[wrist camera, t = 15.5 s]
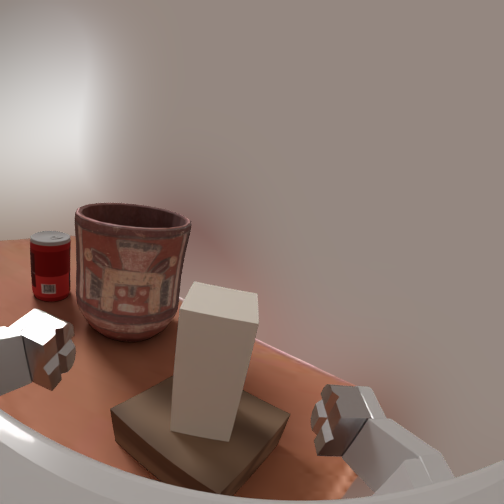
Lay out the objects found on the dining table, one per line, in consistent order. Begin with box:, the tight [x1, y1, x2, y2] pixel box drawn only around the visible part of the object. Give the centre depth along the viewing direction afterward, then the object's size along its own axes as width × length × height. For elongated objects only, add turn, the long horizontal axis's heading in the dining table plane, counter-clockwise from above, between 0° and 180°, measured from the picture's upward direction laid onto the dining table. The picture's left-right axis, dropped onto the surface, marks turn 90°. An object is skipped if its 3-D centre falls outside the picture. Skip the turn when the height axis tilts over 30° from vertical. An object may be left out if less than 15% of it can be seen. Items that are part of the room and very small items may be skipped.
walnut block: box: [110, 375, 290, 496], centre depth 24 cm, size 12×12×5 cm
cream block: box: [170, 282, 259, 442], centre depth 22 cm, size 5×5×12 cm
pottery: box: [75, 203, 191, 342], centre depth 42 cm, size 18×18×18 cm
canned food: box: [30, 231, 71, 302], centre depth 44 cm, size 8×8×11 cm
